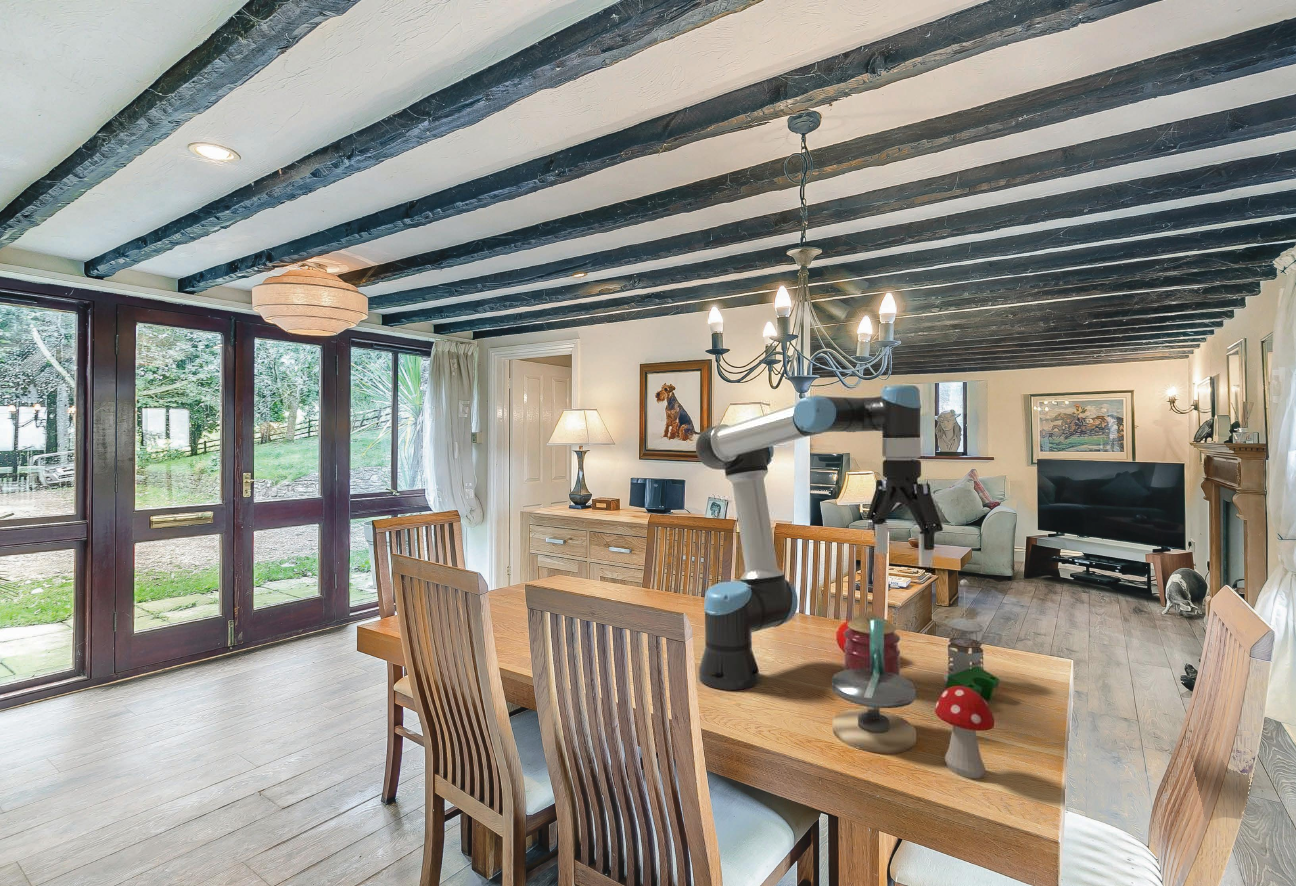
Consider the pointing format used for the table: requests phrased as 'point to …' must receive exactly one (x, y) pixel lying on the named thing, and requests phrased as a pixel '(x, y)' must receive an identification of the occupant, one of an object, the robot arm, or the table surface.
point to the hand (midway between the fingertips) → (902, 559)
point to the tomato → (842, 635)
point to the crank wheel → (874, 680)
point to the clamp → (975, 681)
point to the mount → (874, 731)
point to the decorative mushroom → (964, 729)
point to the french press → (964, 644)
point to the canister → (860, 644)
